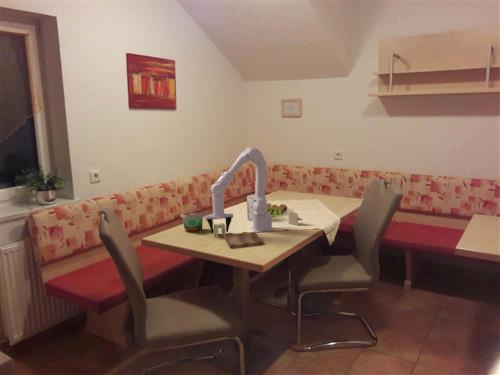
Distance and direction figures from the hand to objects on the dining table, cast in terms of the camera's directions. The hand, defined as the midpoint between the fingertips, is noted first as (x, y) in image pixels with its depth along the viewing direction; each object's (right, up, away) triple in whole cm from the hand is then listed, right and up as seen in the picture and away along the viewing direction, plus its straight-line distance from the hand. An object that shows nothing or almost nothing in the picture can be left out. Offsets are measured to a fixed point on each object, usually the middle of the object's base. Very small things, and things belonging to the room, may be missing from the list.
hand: (219, 232), depth 215 cm
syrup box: (+18, +4, +26) cm, 32 cm away
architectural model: (+40, +2, +14) cm, 42 cm away
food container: (-14, -1, +8) cm, 16 cm away
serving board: (+12, -3, -11) cm, 17 cm away
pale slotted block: (0, -1, 0) cm, 1 cm away
